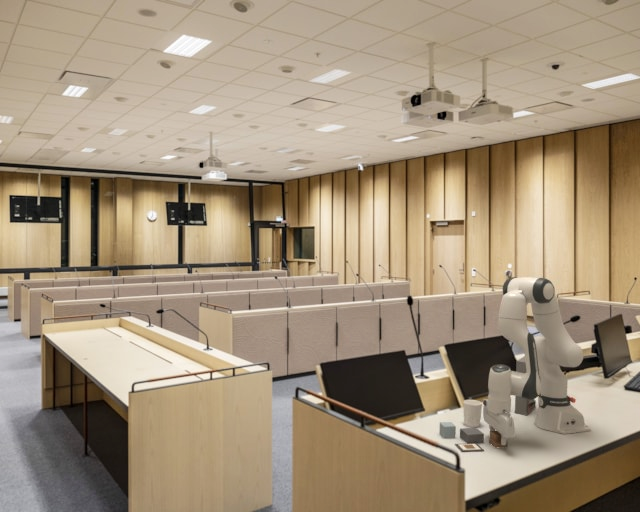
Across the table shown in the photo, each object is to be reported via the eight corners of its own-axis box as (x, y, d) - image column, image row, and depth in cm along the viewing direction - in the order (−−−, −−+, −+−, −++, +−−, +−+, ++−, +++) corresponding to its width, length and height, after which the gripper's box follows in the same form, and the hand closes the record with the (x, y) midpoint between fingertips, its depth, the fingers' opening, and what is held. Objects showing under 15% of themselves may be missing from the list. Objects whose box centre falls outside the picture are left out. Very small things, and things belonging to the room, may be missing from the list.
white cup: (468, 428, 228) (469, 405, 227) (459, 422, 235) (460, 400, 235) (484, 427, 230) (485, 404, 229) (474, 420, 237) (475, 399, 237)
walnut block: (501, 442, 213) (501, 430, 212) (507, 447, 208) (507, 435, 207) (489, 443, 212) (489, 430, 212) (495, 448, 207) (495, 435, 207)
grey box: (527, 416, 245) (529, 362, 245) (514, 413, 249) (516, 360, 248) (536, 408, 256) (537, 357, 256) (523, 406, 260) (524, 356, 259)
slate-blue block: (450, 433, 221) (451, 422, 221) (455, 438, 216) (455, 426, 216) (439, 434, 221) (439, 422, 220) (443, 438, 216) (444, 426, 216)
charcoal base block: (475, 437, 218) (475, 427, 218) (483, 443, 212) (484, 433, 211) (459, 438, 217) (460, 428, 217) (467, 444, 210) (467, 434, 210)
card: (476, 444, 210) (476, 442, 210) (484, 451, 203) (484, 449, 203) (454, 444, 209) (454, 443, 209) (461, 452, 202) (461, 450, 202)
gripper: (519, 414, 199) (518, 450, 200) (495, 398, 220) (494, 431, 220) (504, 415, 199) (502, 451, 199) (480, 398, 219) (479, 431, 219)
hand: (498, 440), depth 210 cm, fingers open, 7 cm apart
